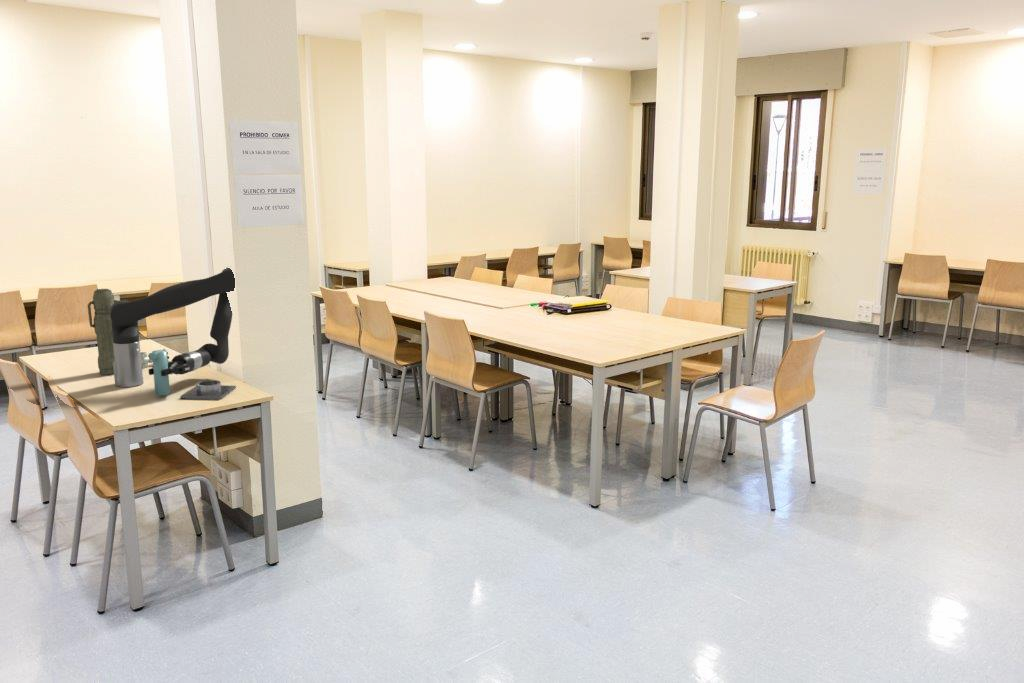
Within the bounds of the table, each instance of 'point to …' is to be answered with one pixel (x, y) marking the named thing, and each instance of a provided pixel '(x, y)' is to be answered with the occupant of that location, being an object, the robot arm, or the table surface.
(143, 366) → the valve
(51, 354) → the table surface
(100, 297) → the thermos
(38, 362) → the table surface
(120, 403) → the table surface
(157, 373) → the teal spouted cylinder
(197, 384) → the collar
